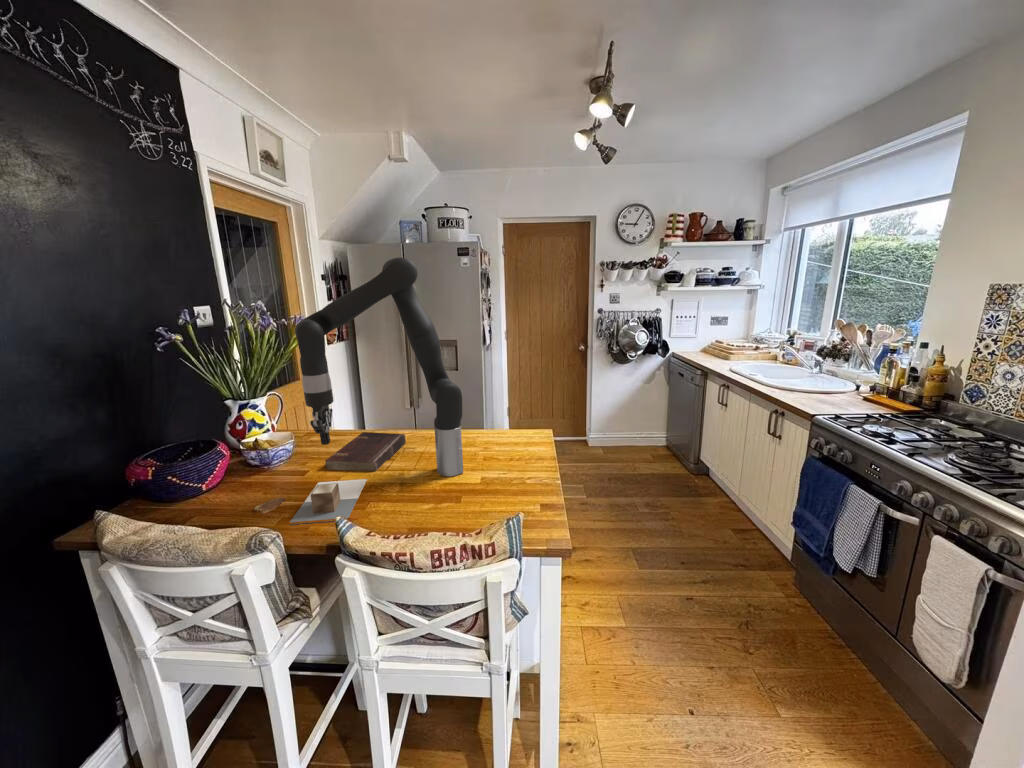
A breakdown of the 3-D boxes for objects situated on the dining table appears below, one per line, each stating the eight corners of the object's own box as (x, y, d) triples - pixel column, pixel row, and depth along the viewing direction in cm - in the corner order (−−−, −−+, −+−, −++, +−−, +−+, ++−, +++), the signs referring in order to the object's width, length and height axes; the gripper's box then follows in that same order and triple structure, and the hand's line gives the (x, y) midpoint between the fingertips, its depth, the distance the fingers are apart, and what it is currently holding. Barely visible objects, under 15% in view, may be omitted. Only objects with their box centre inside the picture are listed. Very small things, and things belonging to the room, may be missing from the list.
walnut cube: (332, 492, 118) (334, 511, 120) (338, 483, 124) (340, 501, 125) (310, 494, 117) (313, 513, 119) (317, 484, 123) (320, 502, 125)
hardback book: (376, 475, 146) (375, 462, 144) (326, 473, 148) (325, 460, 146) (405, 444, 173) (405, 433, 172) (364, 443, 176) (362, 432, 174)
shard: (291, 496, 132) (290, 491, 131) (302, 504, 127) (301, 498, 127) (254, 510, 123) (253, 505, 123) (264, 519, 119) (263, 514, 118)
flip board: (367, 481, 140) (367, 479, 139) (349, 520, 117) (348, 517, 116) (318, 485, 138) (318, 482, 138) (290, 525, 115) (289, 522, 114)
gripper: (323, 393, 113) (332, 451, 117) (337, 382, 126) (344, 435, 130) (295, 395, 112) (305, 453, 116) (312, 383, 125) (320, 436, 129)
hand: (326, 443), depth 123 cm, fingers closed
